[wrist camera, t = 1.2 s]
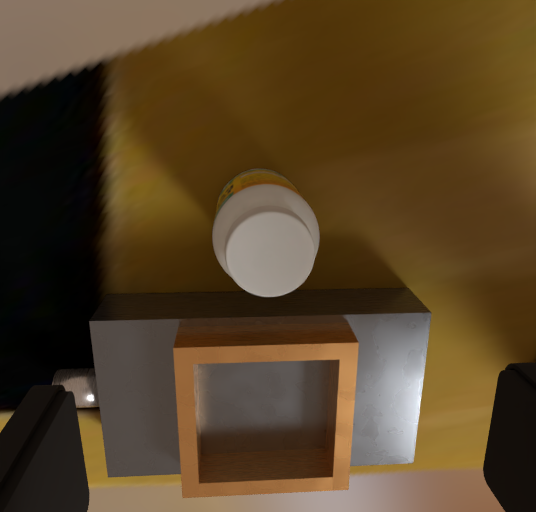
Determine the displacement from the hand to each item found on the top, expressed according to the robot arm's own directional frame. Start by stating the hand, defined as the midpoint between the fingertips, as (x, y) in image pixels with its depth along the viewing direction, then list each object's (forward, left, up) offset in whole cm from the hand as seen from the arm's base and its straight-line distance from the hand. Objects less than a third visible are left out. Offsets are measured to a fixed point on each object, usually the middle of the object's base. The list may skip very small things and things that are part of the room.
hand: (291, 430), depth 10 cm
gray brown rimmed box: (+7, +8, -21) cm, 23 cm away
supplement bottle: (-1, 0, -21) cm, 21 cm away
